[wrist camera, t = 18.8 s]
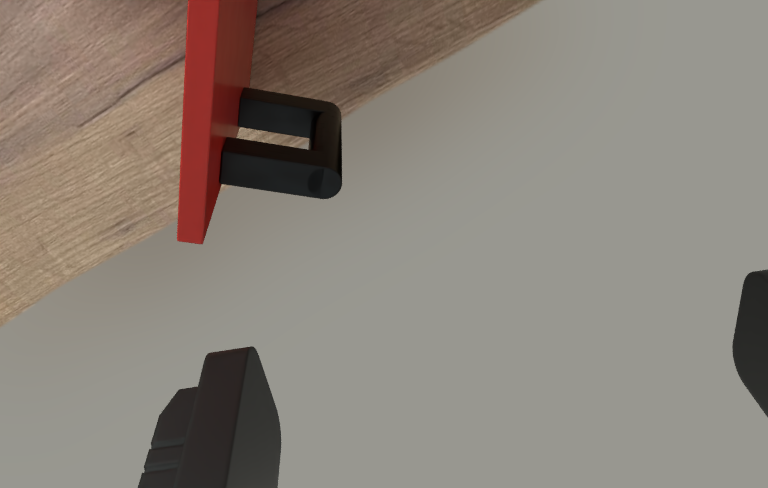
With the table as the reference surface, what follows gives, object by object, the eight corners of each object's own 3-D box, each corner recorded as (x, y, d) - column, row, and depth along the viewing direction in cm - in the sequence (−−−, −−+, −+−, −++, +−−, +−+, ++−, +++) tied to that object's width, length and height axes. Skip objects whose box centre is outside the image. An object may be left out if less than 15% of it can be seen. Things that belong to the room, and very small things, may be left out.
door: (386, -171, 33) (419, -161, 19) (336, 116, 40) (335, 262, 27) (256, -202, 32) (197, -213, 18) (230, 98, 39) (176, 241, 26)
